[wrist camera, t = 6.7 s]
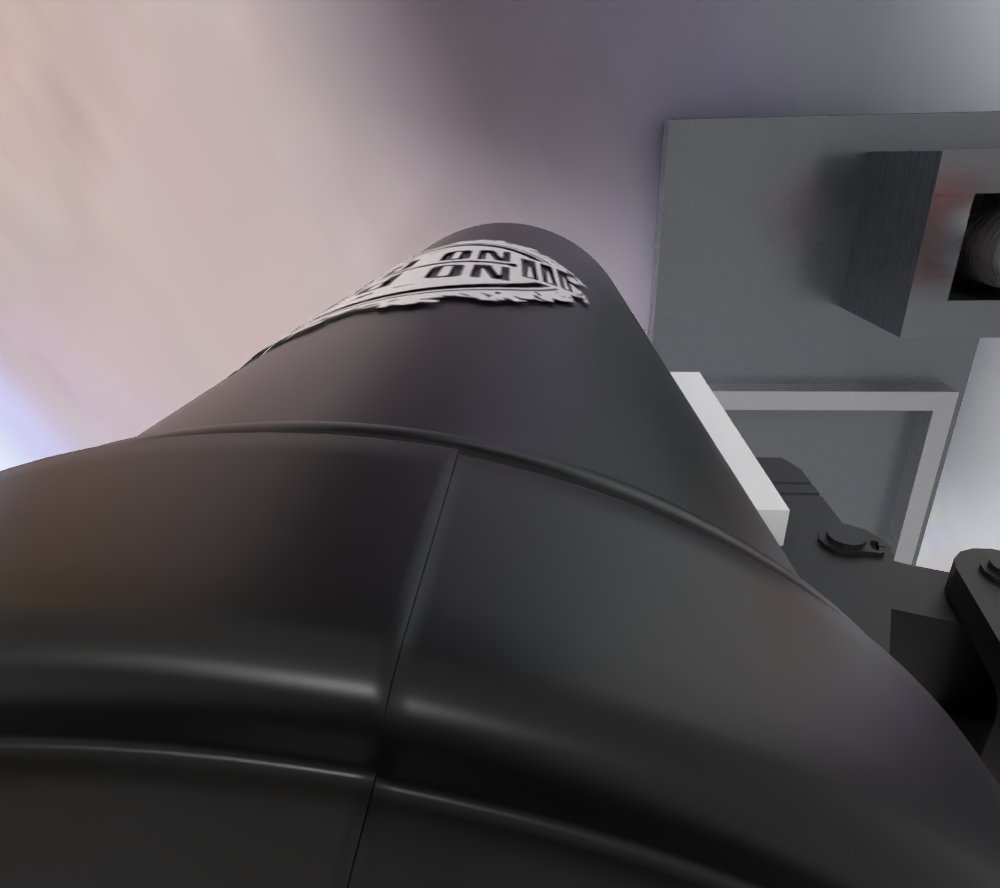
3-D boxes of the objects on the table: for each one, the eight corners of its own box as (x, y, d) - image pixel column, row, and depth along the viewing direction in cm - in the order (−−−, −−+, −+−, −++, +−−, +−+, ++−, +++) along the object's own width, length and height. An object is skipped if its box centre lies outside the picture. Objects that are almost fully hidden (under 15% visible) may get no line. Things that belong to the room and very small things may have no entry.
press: (628, 605, 42) (644, 692, 35) (663, 121, 31) (697, 111, 24) (886, 611, 41) (954, 703, 34) (1020, 112, 30) (1162, 99, 23)
